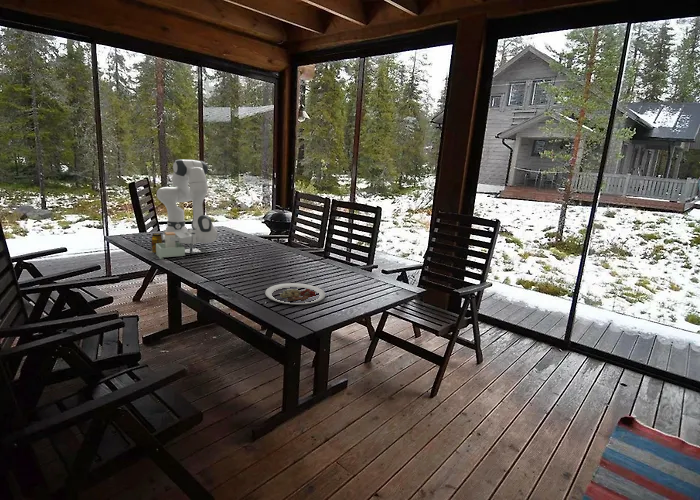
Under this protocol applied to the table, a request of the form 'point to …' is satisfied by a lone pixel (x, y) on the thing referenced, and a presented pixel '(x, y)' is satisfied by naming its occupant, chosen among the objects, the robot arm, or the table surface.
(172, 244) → the white tall cylinder
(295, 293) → the plated food
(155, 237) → the condiment
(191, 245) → the stud base
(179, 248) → the bin
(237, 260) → the table surface
